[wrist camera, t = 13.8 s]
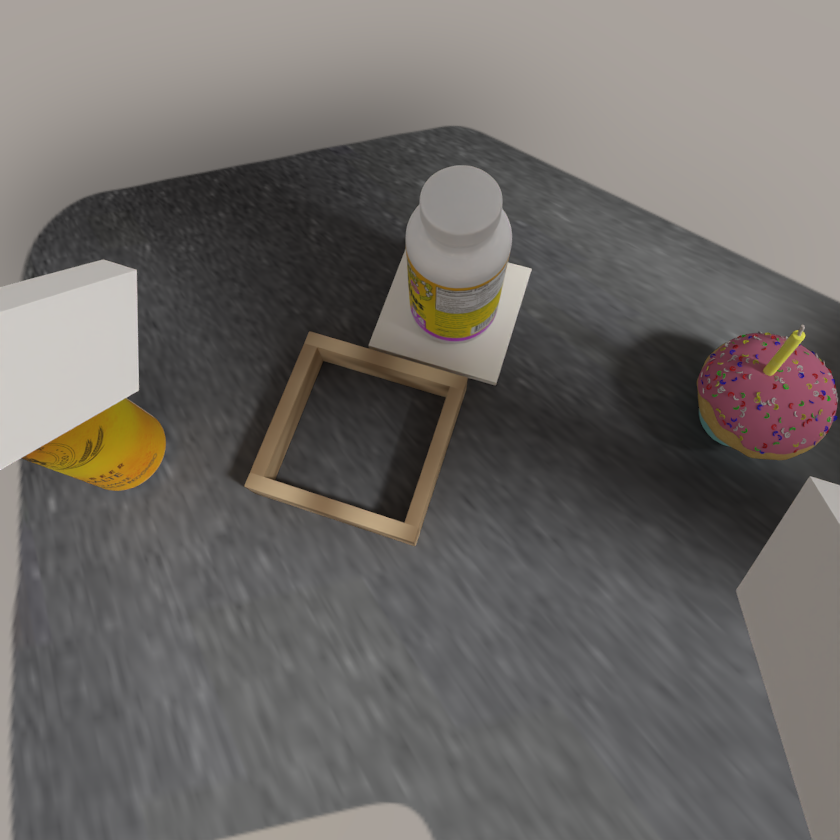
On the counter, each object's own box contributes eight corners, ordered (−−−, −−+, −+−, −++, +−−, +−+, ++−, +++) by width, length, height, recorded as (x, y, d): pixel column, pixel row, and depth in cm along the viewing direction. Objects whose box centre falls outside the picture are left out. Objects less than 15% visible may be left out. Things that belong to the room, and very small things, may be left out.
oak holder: (466, 390, 44) (467, 377, 42) (415, 546, 41) (414, 542, 39) (315, 345, 46) (309, 331, 43) (254, 493, 42) (244, 486, 40)
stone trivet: (530, 273, 47) (531, 268, 47) (495, 385, 44) (496, 382, 44) (410, 240, 48) (410, 236, 48) (369, 348, 46) (368, 345, 45)
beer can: (75, 485, 43) (-104, 422, 29) (103, 406, 45) (-53, 310, 30) (155, 499, 42) (14, 443, 28) (181, 419, 44) (59, 328, 30)
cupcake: (652, 430, 43) (730, 366, 32) (705, 340, 45) (796, 249, 34) (763, 496, 41) (889, 453, 30) (813, 400, 43) (948, 325, 32)
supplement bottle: (411, 269, 47) (404, 148, 35) (495, 270, 47) (518, 149, 34) (408, 347, 45) (400, 248, 33) (497, 348, 45) (522, 249, 32)
